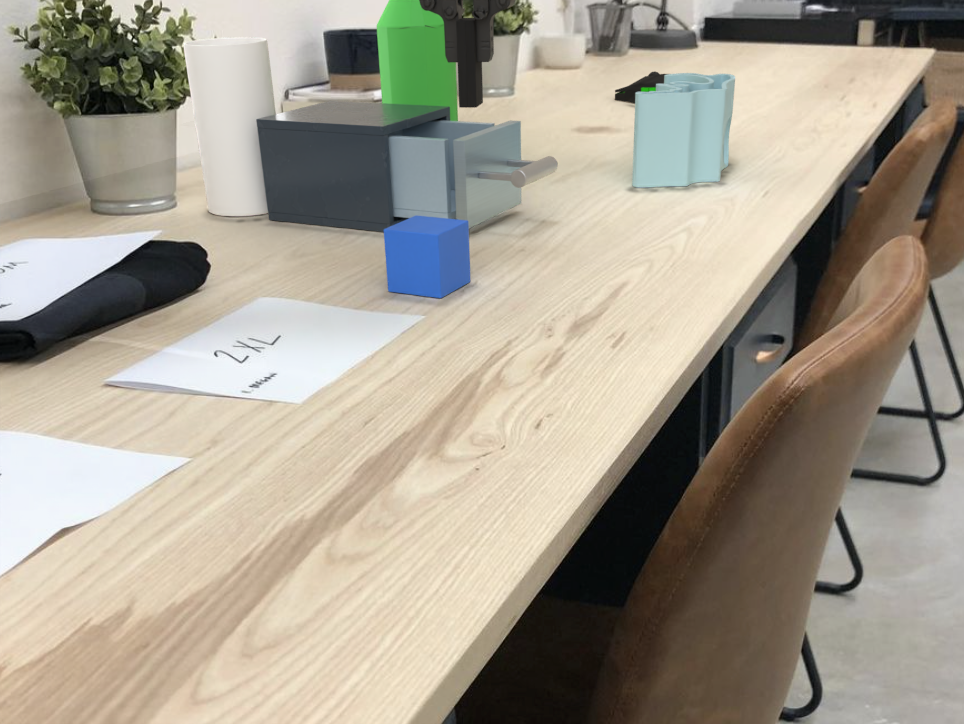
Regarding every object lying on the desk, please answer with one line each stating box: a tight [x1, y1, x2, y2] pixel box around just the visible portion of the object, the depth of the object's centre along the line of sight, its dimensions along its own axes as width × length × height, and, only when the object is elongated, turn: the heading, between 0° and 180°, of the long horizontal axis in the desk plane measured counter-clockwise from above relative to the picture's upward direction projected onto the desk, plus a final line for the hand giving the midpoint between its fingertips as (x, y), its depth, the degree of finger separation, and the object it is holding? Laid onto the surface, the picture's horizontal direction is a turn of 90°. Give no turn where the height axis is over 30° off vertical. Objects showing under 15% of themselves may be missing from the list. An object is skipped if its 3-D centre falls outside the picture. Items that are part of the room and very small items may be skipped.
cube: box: [383, 216, 471, 299], centre depth 90 cm, size 5×5×5 cm
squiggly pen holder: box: [631, 72, 736, 189], centre depth 125 cm, size 18×10×9 cm, turn 166°
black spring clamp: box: [614, 71, 668, 104], centre depth 174 cm, size 11×16×4 cm
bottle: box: [376, 0, 459, 121], centre depth 128 cm, size 9×9×25 cm
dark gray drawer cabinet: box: [256, 100, 450, 233], centre depth 112 cm, size 15×13×10 cm
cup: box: [182, 36, 277, 217], centre depth 114 cm, size 8×8×16 cm
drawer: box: [387, 119, 558, 229], centre depth 108 cm, size 18×11×8 cm, turn 62°
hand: (471, 104), depth 94 cm, fingers closed
